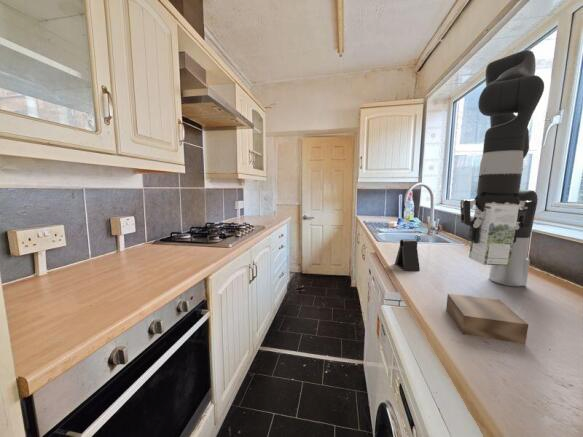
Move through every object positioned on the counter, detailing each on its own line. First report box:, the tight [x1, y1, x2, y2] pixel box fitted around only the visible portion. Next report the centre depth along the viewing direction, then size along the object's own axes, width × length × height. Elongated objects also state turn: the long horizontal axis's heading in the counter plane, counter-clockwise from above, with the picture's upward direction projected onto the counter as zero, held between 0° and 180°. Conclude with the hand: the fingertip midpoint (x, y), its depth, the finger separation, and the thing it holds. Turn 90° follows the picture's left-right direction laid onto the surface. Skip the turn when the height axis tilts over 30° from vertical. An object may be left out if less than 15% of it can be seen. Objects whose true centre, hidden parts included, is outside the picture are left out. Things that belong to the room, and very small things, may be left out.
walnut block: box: [445, 293, 529, 345], centre depth 61 cm, size 12×12×5 cm
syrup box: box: [468, 203, 519, 266], centre depth 58 cm, size 6×6×14 cm
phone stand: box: [394, 239, 421, 272], centre depth 102 cm, size 9×6×12 cm, turn 4°
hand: (490, 243), depth 58 cm, fingers closed on syrup box, 6 cm apart
